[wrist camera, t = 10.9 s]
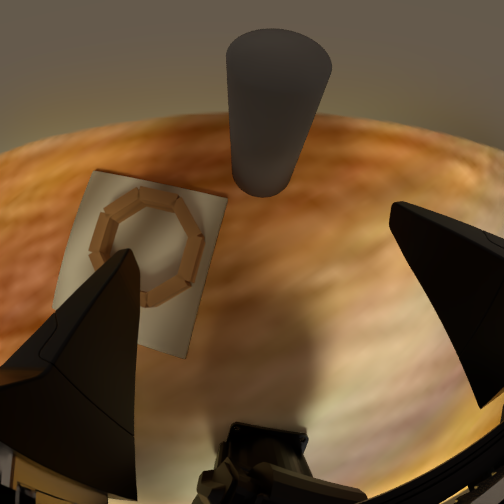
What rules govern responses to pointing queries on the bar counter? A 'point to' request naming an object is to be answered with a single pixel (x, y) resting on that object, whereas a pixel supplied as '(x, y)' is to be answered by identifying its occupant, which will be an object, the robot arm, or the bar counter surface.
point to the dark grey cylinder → (272, 104)
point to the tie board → (147, 250)
